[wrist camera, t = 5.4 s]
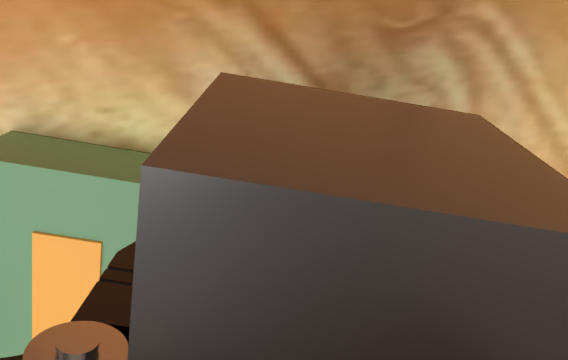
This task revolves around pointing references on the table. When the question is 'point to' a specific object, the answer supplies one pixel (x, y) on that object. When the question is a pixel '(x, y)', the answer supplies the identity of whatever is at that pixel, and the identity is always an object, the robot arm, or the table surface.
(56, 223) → the green rectangular block
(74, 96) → the table surface
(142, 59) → the table surface
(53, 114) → the table surface
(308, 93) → the grey box
